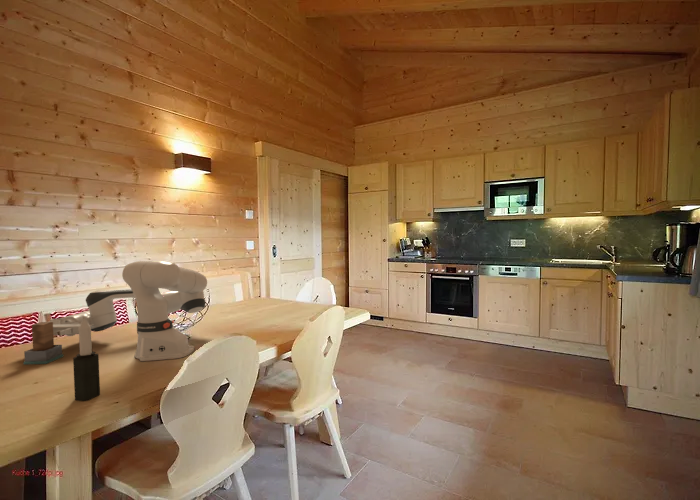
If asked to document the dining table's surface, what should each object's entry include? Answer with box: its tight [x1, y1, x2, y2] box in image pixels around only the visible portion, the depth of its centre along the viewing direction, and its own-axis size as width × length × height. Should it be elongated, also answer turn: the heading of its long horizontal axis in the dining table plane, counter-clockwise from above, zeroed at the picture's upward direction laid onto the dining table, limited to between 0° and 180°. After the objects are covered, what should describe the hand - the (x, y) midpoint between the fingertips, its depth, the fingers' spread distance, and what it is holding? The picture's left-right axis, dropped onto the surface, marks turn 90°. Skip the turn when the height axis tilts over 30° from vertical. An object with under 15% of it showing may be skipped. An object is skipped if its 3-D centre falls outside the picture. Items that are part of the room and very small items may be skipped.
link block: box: [31, 321, 55, 351], centre depth 142 cm, size 4×4×14 cm
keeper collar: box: [23, 344, 64, 365], centre depth 142 cm, size 9×9×5 cm
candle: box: [72, 316, 101, 402], centre depth 108 cm, size 5×5×25 cm
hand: (47, 334), depth 144 cm, fingers open, 8 cm apart
